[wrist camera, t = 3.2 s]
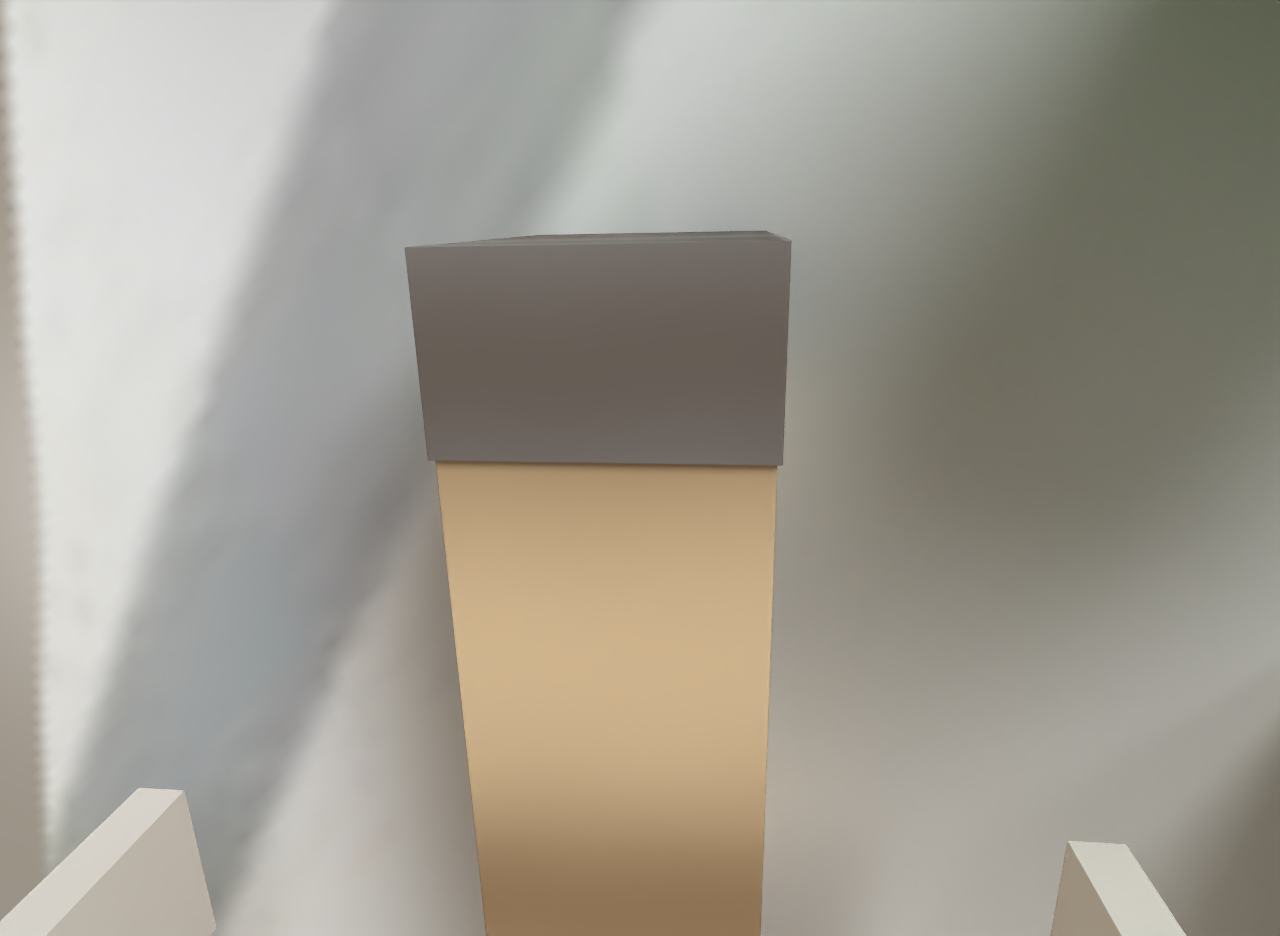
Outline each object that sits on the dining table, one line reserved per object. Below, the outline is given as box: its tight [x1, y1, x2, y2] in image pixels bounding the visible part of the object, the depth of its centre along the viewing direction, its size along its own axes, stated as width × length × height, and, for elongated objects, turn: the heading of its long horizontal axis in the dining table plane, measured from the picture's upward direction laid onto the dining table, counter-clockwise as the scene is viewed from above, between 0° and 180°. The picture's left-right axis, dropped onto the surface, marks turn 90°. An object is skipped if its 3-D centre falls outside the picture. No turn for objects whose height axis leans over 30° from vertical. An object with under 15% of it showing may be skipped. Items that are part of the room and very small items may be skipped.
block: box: [405, 231, 791, 936], centre depth 14 cm, size 18×4×6 cm, turn 1°
